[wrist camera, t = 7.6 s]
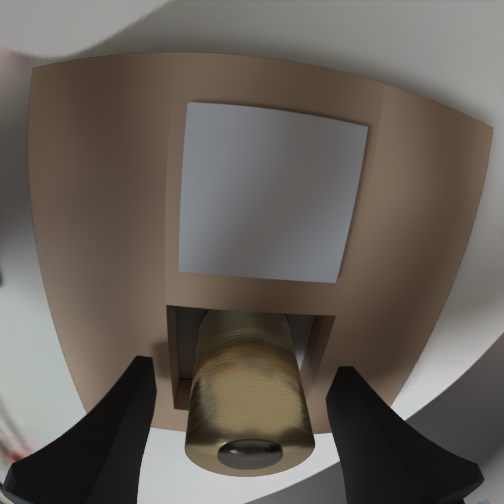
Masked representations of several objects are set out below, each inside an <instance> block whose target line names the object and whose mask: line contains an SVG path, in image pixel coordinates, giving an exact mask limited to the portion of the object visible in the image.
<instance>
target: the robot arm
mask: <svg viewBox="0 0 504 504" xmlns="http://www.w3.org/2000/svg"><path fill="white" fill-rule="evenodd" d="M156 396H157V387H156V380H155V373H154V365H153V357H146V356H139V355H137V356H136V357H134V359H133V360H132V362H131V363H130V365H129V366H128V367H127V369H126V370H125V371H124V373H123V374H122V375H121V376H120V378H119V379H118V380H117V382H116V383H115V384H114V385H113V386H112V388H111V389H110V390H109V391H108V392H107V393H106V395H105V396H104V397H103V398H102V399H101V400H100V401H99V402H98V403H97V404H96V405H95V406H94V408H93V409H92V410H91V411H90V412H89V413H88V414H87V415H85V416H84V417H83V418H82V419H81V420H80V421H79V422H78V423H77V424H75V425H74V426H73V427H72V428H70V429H69V430H68V431H67V432H65V433H64V434H63V435H62V436H60V437H59V438H57V439H56V440H54V441H53V442H51V443H50V444H48V445H47V446H45V447H43V448H42V449H40V450H39V451H37V452H35V453H33V454H31V455H29V456H27V457H25V458H23V459H21V460H19V461H17V462H15V463H12V465H11V467H10V469H9V471H8V473H7V476H6V478H5V481H4V484H3V487H2V490H1V492H2V494H3V495H4V496H5V497H6V498H8V499H9V500H10V501H11V502H13V503H14V504H137V495H138V484H139V475H140V467H141V462H142V458H143V454H144V450H145V446H146V442H147V438H148V434H149V431H150V427H151V423H152V419H153V415H154V410H155V403H156ZM325 400H326V407H327V414H328V420H329V424H330V427H331V431H332V434H333V438H334V441H335V444H336V448H337V451H338V455H339V458H340V462H341V466H342V470H343V476H344V482H345V490H346V500H347V504H465V503H464V500H463V498H465V497H466V496H467V495H469V494H470V493H471V492H473V491H474V490H475V489H476V488H478V487H479V486H480V485H481V484H482V483H483V481H484V477H483V475H482V473H481V471H480V468H479V466H478V465H477V464H476V463H474V462H471V461H469V460H466V459H464V458H461V457H458V456H456V455H455V454H452V453H451V452H449V451H447V450H445V449H443V448H441V447H440V446H438V445H436V444H435V443H433V442H432V441H430V440H429V439H427V438H425V437H424V436H423V435H421V434H420V433H419V432H417V431H416V430H415V429H413V428H412V427H411V426H410V425H408V424H407V423H406V422H405V421H404V420H403V419H402V418H401V417H400V416H399V415H398V414H396V413H395V412H394V411H393V410H392V409H391V408H390V407H389V406H388V405H387V404H386V403H385V402H384V401H383V399H382V398H381V397H380V396H379V395H378V394H377V393H376V392H375V391H374V390H373V389H372V387H371V386H370V385H369V384H368V383H367V382H366V381H365V379H364V378H363V377H362V376H361V375H360V374H359V373H358V371H357V370H356V369H355V368H354V367H353V366H339V367H338V369H337V372H336V374H335V377H334V379H333V382H332V384H331V386H330V389H329V391H328V393H327V396H326V398H325ZM478 504H489V502H488V500H487V499H485V500H483V501H481V502H480V503H478Z"/></svg>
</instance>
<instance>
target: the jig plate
mask: <svg viewBox="0 0 504 504" xmlns="http://www.w3.org/2000/svg"><path fill="white" fill-rule="evenodd" d="M492 135H493V128H492V127H490V126H488V125H486V124H484V123H482V122H480V121H478V120H476V119H474V118H472V117H470V116H468V115H466V114H463V113H461V112H459V111H457V110H455V109H452V108H450V107H448V106H445V105H443V104H440V103H438V102H435V101H433V100H430V99H428V98H425V97H422V96H420V95H417V94H414V93H412V92H409V91H406V90H403V89H400V88H397V87H394V86H391V85H388V84H384V83H381V82H378V81H374V80H371V79H367V78H364V77H360V76H356V75H352V74H349V73H344V72H340V71H336V70H332V69H327V68H322V67H318V66H313V65H307V64H302V63H296V62H290V61H284V60H277V59H270V58H263V57H254V56H245V55H234V54H220V53H199V52H153V53H133V54H119V55H109V56H99V57H91V58H84V59H77V60H71V61H65V62H59V63H54V64H49V65H44V66H40V67H35V68H33V71H32V79H31V89H30V102H29V120H28V168H29V186H30V199H31V210H32V219H33V227H34V234H35V241H36V247H37V253H38V259H39V264H40V269H41V274H42V279H43V283H44V288H45V292H46V296H47V300H48V304H49V308H50V312H51V316H52V319H53V323H54V326H55V330H56V333H57V336H58V340H59V343H60V346H61V349H62V352H63V355H64V358H65V361H66V364H67V366H68V369H69V372H70V374H71V377H72V380H73V382H74V385H75V387H76V390H77V392H78V395H79V397H80V399H81V402H82V404H83V406H84V409H85V411H86V413H87V414H88V413H89V412H90V411H91V410H92V409H93V408H94V406H95V405H96V404H97V403H98V402H99V401H100V400H101V399H102V398H103V397H104V396H105V395H106V393H107V392H108V391H109V390H110V389H111V388H112V386H113V385H114V384H115V383H116V382H117V380H118V379H119V378H120V376H121V375H122V374H123V373H124V371H125V370H126V369H127V367H128V366H129V365H130V363H131V362H132V360H133V359H134V357H136V356H137V355H139V356H146V357H153V365H154V373H155V380H156V387H157V396H156V403H155V410H154V415H153V419H152V423H151V427H153V428H160V429H167V430H175V431H184V432H186V430H187V421H188V412H189V404H190V395H191V387H192V380H184V379H179V372H178V354H177V330H176V306H183V307H194V308H206V309H218V310H231V311H246V312H262V313H280V314H302V315H316V317H315V321H314V324H313V328H312V331H311V335H310V338H309V342H308V345H307V349H306V352H305V356H304V359H303V362H302V366H301V369H300V376H301V381H302V385H303V390H304V394H305V399H306V403H307V408H308V412H309V417H310V422H311V426H312V431H313V434H322V433H332V431H331V427H330V424H329V420H328V414H327V407H326V400H325V398H326V396H327V393H328V391H329V389H330V386H331V384H332V382H333V379H334V377H335V374H336V372H337V369H338V367H339V366H353V367H354V368H355V369H356V370H357V371H358V373H359V374H360V375H361V376H362V377H363V378H364V379H365V381H366V382H367V383H368V384H369V385H370V386H371V387H372V389H373V390H374V391H375V392H376V393H377V394H378V395H379V396H380V397H381V398H382V399H383V401H384V402H385V403H386V404H387V405H388V406H389V407H391V405H392V404H393V402H394V400H395V399H396V397H397V395H398V394H399V392H400V391H401V389H402V387H403V386H404V384H405V382H406V380H407V379H408V377H409V375H410V373H411V372H412V370H413V368H414V366H415V364H416V363H417V361H418V359H419V357H420V355H421V353H422V351H423V349H424V347H425V345H426V343H427V341H428V339H429V337H430V335H431V333H432V331H433V329H434V327H435V325H436V323H437V320H438V318H439V316H440V314H441V312H442V309H443V307H444V305H445V302H446V300H447V298H448V295H449V293H450V290H451V288H452V285H453V283H454V280H455V278H456V275H457V272H458V270H459V267H460V264H461V261H462V258H463V255H464V252H465V249H466V246H467V243H468V240H469V237H470V234H471V231H472V227H473V224H474V220H475V217H476V213H477V209H478V205H479V201H480V197H481V193H482V189H483V185H484V180H485V175H486V170H487V165H488V160H489V154H490V148H491V142H492Z"/></svg>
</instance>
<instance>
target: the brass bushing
mask: <svg viewBox="0 0 504 504" xmlns="http://www.w3.org/2000/svg"><path fill="white" fill-rule="evenodd" d="M314 448H315V440H314V435H313V431H312V426H311V422H310V417H309V412H308V408H307V403H306V399H305V394H304V390H303V385H302V381H301V376H300V372H299V368H298V363H297V359H296V354H295V350H294V346H293V341H292V337H291V333H290V328H289V324H288V321H287V319H286V317H285V316H284V314H280V313H262V312H246V311H231V310H218V309H210V310H209V311H208V312H207V313H206V315H205V316H204V318H203V319H202V321H201V324H200V329H199V335H198V342H197V349H196V357H195V364H194V372H193V379H192V387H191V395H190V404H189V412H188V421H187V430H186V439H185V453H186V455H187V457H188V458H189V459H190V460H191V461H192V462H193V463H195V464H196V465H198V466H199V467H201V468H203V469H206V470H208V471H211V472H214V473H218V474H222V475H228V476H238V477H255V476H264V475H270V474H275V473H279V472H282V471H285V470H288V469H290V468H293V467H295V466H297V465H299V464H300V463H302V462H303V461H305V460H306V459H307V458H308V457H309V456H310V455H311V454H312V452H313V450H314Z"/></svg>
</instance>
